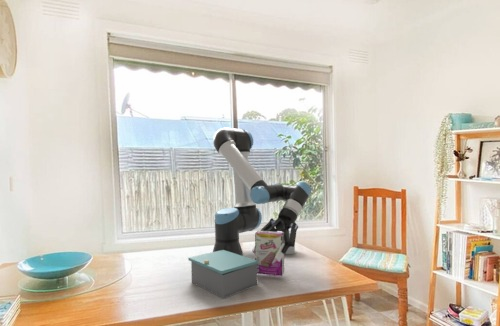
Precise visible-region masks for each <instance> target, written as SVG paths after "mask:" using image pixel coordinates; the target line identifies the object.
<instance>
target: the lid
mask: <svg viewBox="0 0 500 326" xmlns="http://www.w3.org/2000/svg"><path fill="white" fill-rule="evenodd" d="M187 258H188V261H189V262H190V263H191V262H194V263H196V264H199V265H201V266H203V267H206V268H208V269H211V270H213V271H215V272H218V273H220V274H224V273H227V272H231V271H234V270H238V269H241V268H244V267H248V266H251V265H255V264H258V261H257V260H255V259H254V258H250V257H247V256H244V255H243V256H241V255H238V254H235V253H232V252H229V251H225V250H220V251H216V252H213V251H212V252H208V253H203V254H199V255H194V256H190V257H187Z"/></svg>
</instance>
